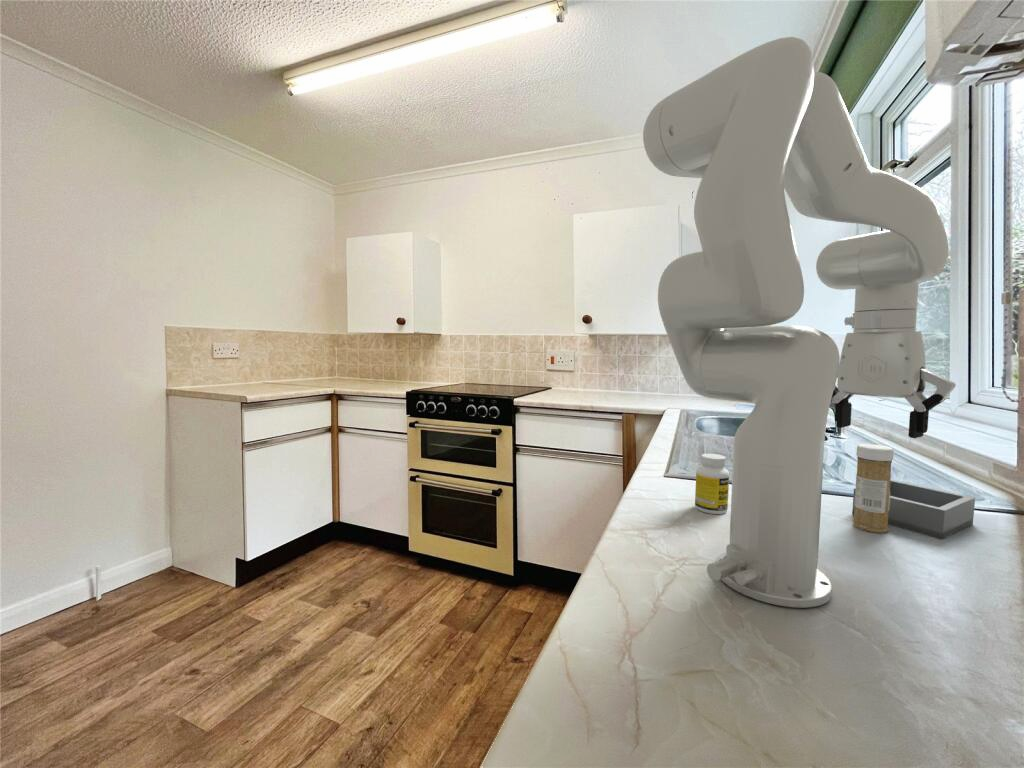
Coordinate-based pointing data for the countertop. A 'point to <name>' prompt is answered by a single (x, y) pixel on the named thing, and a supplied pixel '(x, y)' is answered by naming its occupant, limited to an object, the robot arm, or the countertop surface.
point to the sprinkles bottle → (873, 487)
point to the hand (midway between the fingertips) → (877, 431)
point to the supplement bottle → (712, 484)
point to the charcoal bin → (928, 509)
